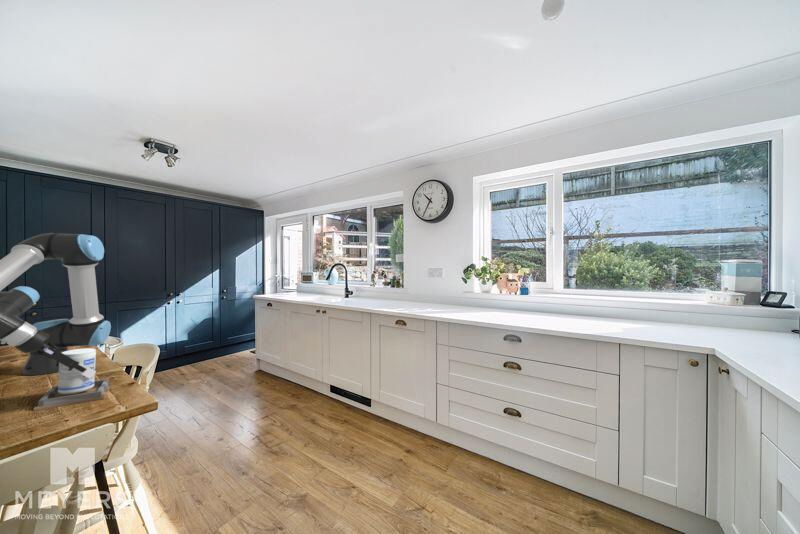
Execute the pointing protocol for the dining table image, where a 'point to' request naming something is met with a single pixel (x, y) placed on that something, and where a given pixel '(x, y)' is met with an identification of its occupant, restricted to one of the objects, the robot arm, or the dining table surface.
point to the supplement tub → (72, 379)
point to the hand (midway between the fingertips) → (89, 372)
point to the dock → (73, 396)
